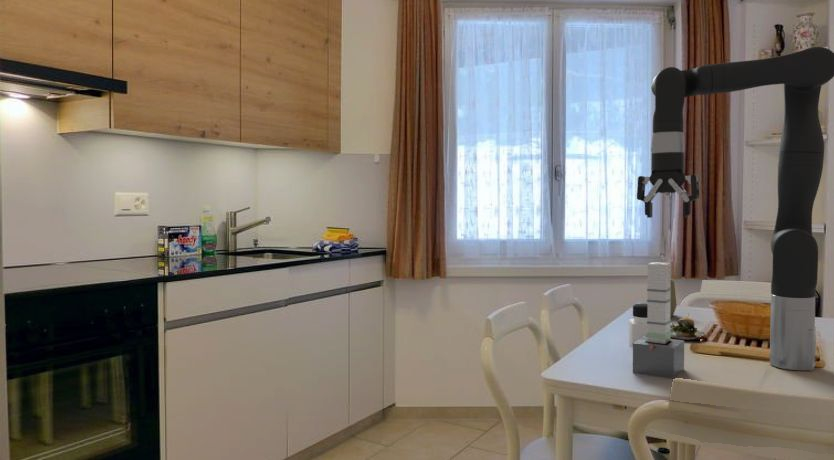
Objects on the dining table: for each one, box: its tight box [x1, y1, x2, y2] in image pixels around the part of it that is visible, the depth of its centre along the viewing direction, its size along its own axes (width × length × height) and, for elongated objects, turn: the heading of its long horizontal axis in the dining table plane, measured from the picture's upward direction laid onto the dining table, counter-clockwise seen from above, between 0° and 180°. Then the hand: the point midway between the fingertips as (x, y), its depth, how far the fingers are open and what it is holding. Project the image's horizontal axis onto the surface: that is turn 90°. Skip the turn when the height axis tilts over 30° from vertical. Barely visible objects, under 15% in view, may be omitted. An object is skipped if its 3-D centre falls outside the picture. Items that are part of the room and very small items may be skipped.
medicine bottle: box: [628, 302, 648, 348], centre depth 176 cm, size 7×7×12 cm
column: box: [646, 261, 672, 344], centre depth 148 cm, size 4×4×18 cm
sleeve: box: [632, 336, 685, 380], centre depth 148 cm, size 16×16×8 cm
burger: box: [670, 314, 707, 341], centre depth 187 cm, size 12×12×8 cm
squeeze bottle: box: [670, 279, 678, 317], centre depth 220 cm, size 8×8×18 cm
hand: (667, 217), depth 159 cm, fingers open, 8 cm apart
